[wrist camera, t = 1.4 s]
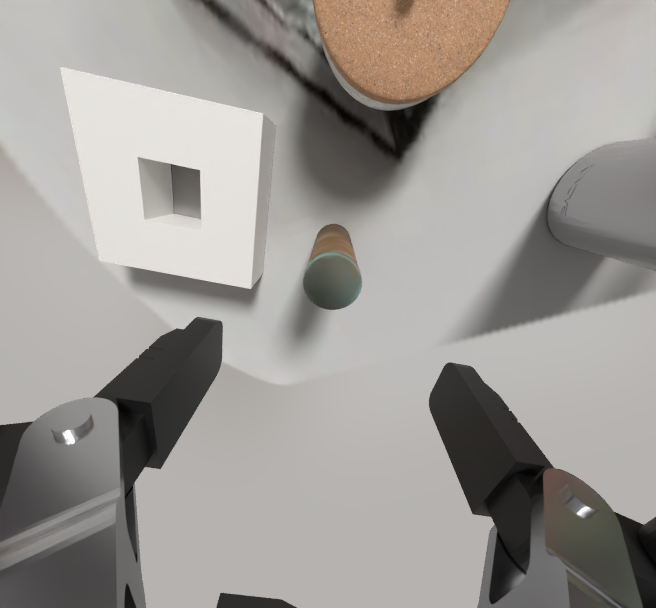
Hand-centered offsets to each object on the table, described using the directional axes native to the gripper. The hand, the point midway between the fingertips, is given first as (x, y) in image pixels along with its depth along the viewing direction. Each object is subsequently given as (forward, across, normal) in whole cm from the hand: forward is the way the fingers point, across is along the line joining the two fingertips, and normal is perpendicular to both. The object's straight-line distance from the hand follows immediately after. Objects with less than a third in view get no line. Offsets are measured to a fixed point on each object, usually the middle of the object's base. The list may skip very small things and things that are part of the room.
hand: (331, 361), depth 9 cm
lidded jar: (+20, -1, -16) cm, 26 cm away
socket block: (+20, +14, -2) cm, 24 cm away
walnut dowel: (+20, 0, 0) cm, 20 cm away
